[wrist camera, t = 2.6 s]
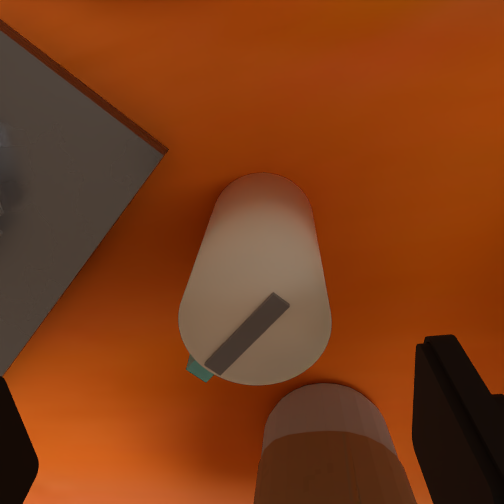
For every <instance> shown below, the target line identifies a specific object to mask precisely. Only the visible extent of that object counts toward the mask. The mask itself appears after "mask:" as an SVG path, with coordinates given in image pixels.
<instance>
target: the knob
mask: <svg viewBox="0 0 504 504" xmlns="http://www.w3.org/2000/svg"><path fill="white" fill-rule="evenodd" d="M178 324H179V331H180V334H181V338H182V340H183V342H184V345H185V347H186V348H187V350H188V351H189V353H190V356H189V360H188V364H187V367H186V370H187V371H189V372H190V373H192V374H193V375H195V376H197V377H198V378H200V379H201V380H203V381H204V382H207V381H208V380H209V379H210V378H211V377H212V376H213V375H216V376H218V377H220V378H223V379H225V380H228V381H231V382H234V383H239V384H244V385H270V384H275V383H280V382H283V381H286V380H289V379H291V378H294V377H296V376H298V375H300V374H301V373H303V372H304V371H306V370H307V369H308V368H310V367H311V366H312V365H313V364H314V363H315V362H316V361H317V360H318V359H319V357H320V356H321V355H322V353H323V352H324V350H325V348H326V346H327V344H328V341H329V338H330V334H331V326H332V319H331V311H330V306H329V300H328V295H327V289H326V284H325V278H324V273H323V267H322V262H321V256H320V251H319V245H318V240H317V234H316V229H315V223H314V218H313V212H312V208H311V205H310V203H309V200H308V198H307V197H306V195H305V194H304V192H303V191H302V190H301V189H300V188H299V187H298V186H297V185H296V184H295V183H293V182H292V181H290V180H288V179H287V178H285V177H282V176H279V175H276V174H272V173H253V174H249V175H245V176H243V177H240V178H238V179H236V180H235V181H233V182H232V183H230V184H229V185H228V186H227V187H226V188H225V189H224V190H223V191H222V193H221V194H220V195H219V197H218V199H217V201H216V203H215V206H214V209H213V212H212V215H211V218H210V221H209V223H208V226H207V229H206V232H205V235H204V238H203V241H202V243H201V246H200V249H199V252H198V255H197V258H196V261H195V263H194V266H193V269H192V272H191V275H190V278H189V281H188V283H187V286H186V289H185V292H184V295H183V298H182V301H181V303H180V307H179V313H178Z"/></svg>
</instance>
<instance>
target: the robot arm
mask: <svg viewBox="0 0 504 504" xmlns="http://www.w3.org/2000/svg"><path fill="white" fill-rule="evenodd" d="M412 441H413V446H414V450H415V454H416V456H417V459H418V462H419V465H420V467H421V470H422V473H423V476H424V479H425V481H426V484H427V487H428V490H429V493H430V495H431V498H432V501H433V504H504V395H503V394H495V395H491V393H490V392H489V390H488V388H487V387H486V385H485V384H484V382H483V380H482V379H481V377H480V375H479V374H478V372H477V371H476V369H475V367H474V366H473V364H472V363H471V361H470V359H469V358H468V356H467V354H466V353H465V351H464V350H463V348H462V346H461V345H460V343H459V342H458V340H457V338H456V337H455V336H454V335H452V334H451V335H438V336H427V337H425V340H424V343H423V344H417V346H416V356H415V378H414V400H413V421H412ZM38 467H39V462H38V458H37V455H36V453H35V450H34V448H33V446H32V443H31V441H30V438H29V436H28V434H27V431H26V429H25V426H24V424H23V422H22V419H21V417H20V414H19V412H18V410H17V407H16V405H15V402H14V400H13V398H12V395H11V393H10V390H9V388H8V386H7V383H6V381H5V379H4V378H3V377H2V376H0V504H23V502H24V500H25V498H26V496H27V494H28V492H29V490H30V488H31V486H32V484H33V482H34V480H35V478H36V475H37V473H38Z"/></svg>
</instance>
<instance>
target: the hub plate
mask: <svg viewBox="0 0 504 504" xmlns="http://www.w3.org/2000/svg"><path fill="white" fill-rule="evenodd" d="M168 150H169V149H168V148H166V147H165V146H164V145H162V144H161V143H160V142H158V141H157V140H156V139H155V138H153V137H152V136H151V135H149V134H148V133H147V132H146V131H144V130H143V129H142V128H140V127H139V126H138V125H136V124H135V123H134V122H133V121H131V120H130V119H129V118H127V117H126V116H125V115H124V114H122V113H121V112H120V111H118V110H117V109H116V108H114V107H113V106H112V105H111V104H109V103H108V102H107V101H105V100H104V99H103V98H102V97H100V96H99V95H98V94H96V93H95V92H94V91H92V90H91V89H90V88H89V87H87V86H86V85H85V84H83V83H82V82H81V81H79V80H78V79H77V78H76V77H74V76H73V75H72V74H70V73H69V72H68V71H67V70H65V69H64V68H63V67H61V66H60V65H59V64H57V63H56V62H55V61H54V60H52V59H51V58H50V57H48V56H47V55H46V54H45V53H43V52H42V51H41V50H39V49H38V48H37V47H35V46H34V45H33V44H32V43H30V42H29V41H28V40H26V39H25V38H24V37H23V36H21V35H20V34H19V33H17V32H16V31H15V30H13V29H12V28H11V27H10V26H8V25H7V24H6V23H4V22H3V21H2V20H0V376H2V377H3V375H4V374H5V372H6V371H7V370H8V368H9V367H10V366H11V364H12V363H13V362H14V360H15V359H16V357H17V356H18V355H19V353H20V352H21V351H22V349H23V348H24V347H25V345H26V344H27V342H28V341H29V340H30V338H31V337H32V336H33V334H34V333H35V332H36V330H37V329H38V327H39V326H40V325H41V323H42V322H43V321H44V319H45V318H46V316H47V315H48V314H49V312H50V311H51V310H52V308H53V307H54V306H55V304H56V303H57V301H58V300H59V299H60V297H61V296H62V295H63V293H64V292H65V291H66V289H67V288H68V286H69V285H70V284H71V282H72V281H73V280H74V278H75V277H76V276H77V274H78V273H79V271H80V270H81V269H82V267H83V266H84V265H85V263H86V262H87V261H88V259H89V258H90V256H91V255H92V254H93V252H94V251H95V250H96V248H97V247H98V245H99V244H100V243H101V241H102V240H103V239H104V237H105V236H106V235H107V233H108V232H109V230H110V229H111V228H112V226H113V225H114V224H115V222H116V221H117V220H118V218H119V217H120V215H121V214H122V213H123V211H124V210H125V209H126V207H127V206H128V205H129V203H130V202H131V200H132V199H133V198H134V196H135V195H136V194H137V192H138V191H139V190H140V188H141V187H142V185H143V184H144V183H145V181H146V180H147V179H148V177H149V176H150V175H151V173H152V172H153V170H154V169H155V168H156V166H157V165H158V164H159V162H160V161H161V159H162V158H163V157H164V155H165V154H166V153H167V151H168Z"/></svg>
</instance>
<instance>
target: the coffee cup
mask: <svg viewBox="0 0 504 504" xmlns="http://www.w3.org/2000/svg"><path fill="white" fill-rule="evenodd" d="M254 504H417V502H416V500H415V497H414V494H413V492H412V489H411V486H410V483H409V481H408V478H407V475H406V472H405V470H404V467H403V466H402V464H401V462H400V461H399V459H398V456H397V453H396V450H395V447H394V445H393V442H392V439H391V436H390V434H389V431H388V428H387V425H386V422H385V420H384V418H383V416H382V414H381V413H380V411H379V409H378V408H377V407H376V406H375V405H374V404H373V403H372V402H370V401H369V400H368V399H367V398H366V397H365V396H364V395H362V394H361V393H359V392H357V391H356V390H354V389H352V388H350V387H346V386H342V385H338V384H331V383H318V384H312V385H306V386H303V387H301V388H298V389H296V390H293V391H292V392H290V393H289V394H287V395H286V396H285V397H283V398H282V399H281V400H280V401H279V403H278V404H277V405H276V406H275V408H274V409H273V411H272V412H271V413H270V414H269V417H268V419H267V422H266V424H265V429H264V437H263V446H262V454H261V459H260V462H259V465H258V473H257V481H256V489H255V497H254Z"/></svg>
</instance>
